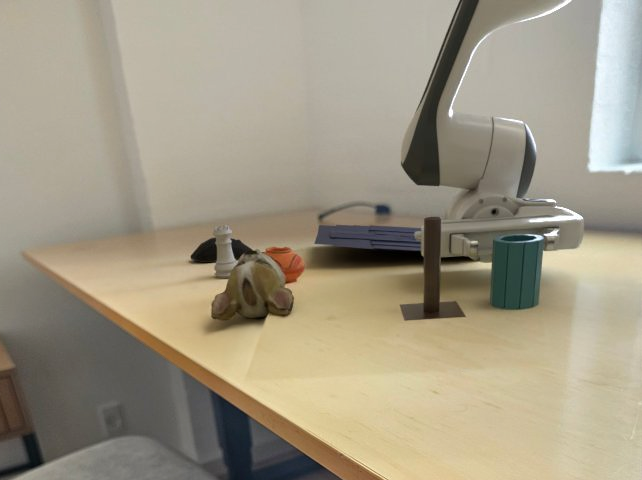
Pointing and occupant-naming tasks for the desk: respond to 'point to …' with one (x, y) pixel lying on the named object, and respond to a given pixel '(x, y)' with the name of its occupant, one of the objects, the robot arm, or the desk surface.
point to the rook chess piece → (223, 252)
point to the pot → (287, 262)
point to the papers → (369, 237)
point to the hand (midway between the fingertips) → (512, 246)
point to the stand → (431, 280)
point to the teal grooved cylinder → (516, 271)
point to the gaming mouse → (209, 250)
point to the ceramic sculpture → (253, 289)
